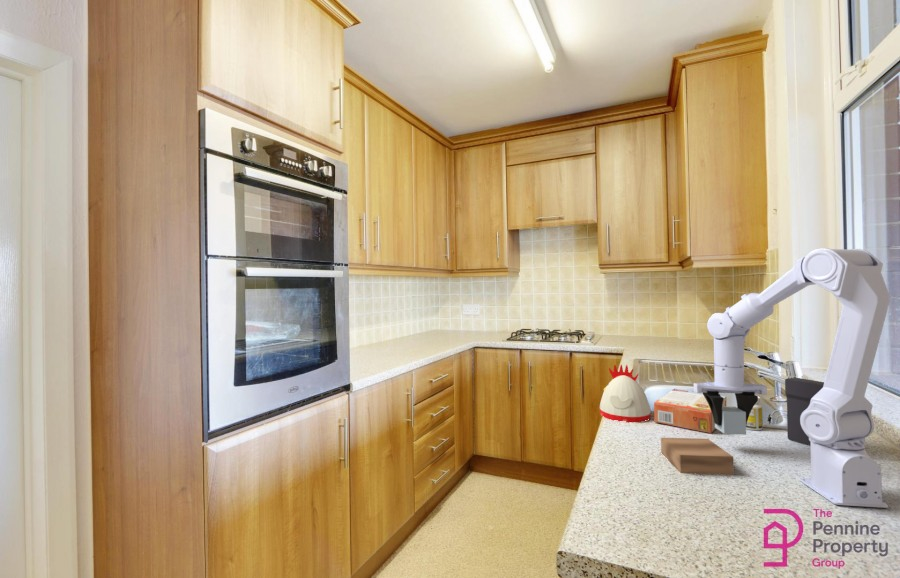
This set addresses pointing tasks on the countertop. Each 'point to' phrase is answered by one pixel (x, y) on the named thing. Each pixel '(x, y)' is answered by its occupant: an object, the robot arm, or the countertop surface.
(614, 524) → the countertop surface
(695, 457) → the walnut block
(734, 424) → the slate block
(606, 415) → the kitchen timer
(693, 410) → the cracker box
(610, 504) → the countertop surface
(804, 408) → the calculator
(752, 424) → the supplement bottle
